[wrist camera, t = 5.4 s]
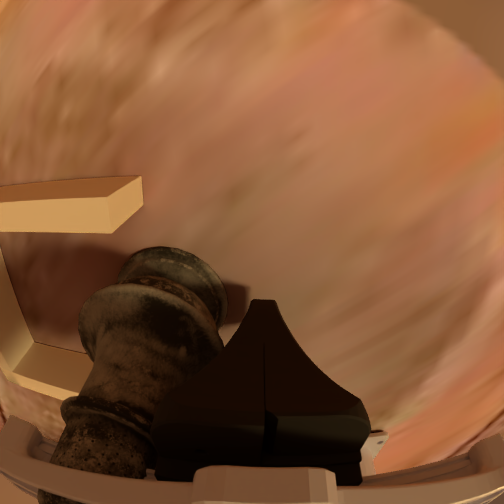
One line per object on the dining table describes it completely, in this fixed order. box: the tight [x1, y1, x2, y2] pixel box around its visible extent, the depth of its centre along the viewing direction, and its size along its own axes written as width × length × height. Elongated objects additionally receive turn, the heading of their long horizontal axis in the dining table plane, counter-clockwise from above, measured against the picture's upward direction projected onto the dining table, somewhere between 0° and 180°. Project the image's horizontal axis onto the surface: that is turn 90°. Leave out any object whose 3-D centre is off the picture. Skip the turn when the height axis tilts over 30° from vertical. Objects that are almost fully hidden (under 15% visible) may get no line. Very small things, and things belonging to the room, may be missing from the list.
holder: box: [0, 176, 143, 400], centre depth 13 cm, size 11×11×3 cm
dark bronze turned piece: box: [37, 247, 228, 504], centre depth 9 cm, size 6×6×12 cm
